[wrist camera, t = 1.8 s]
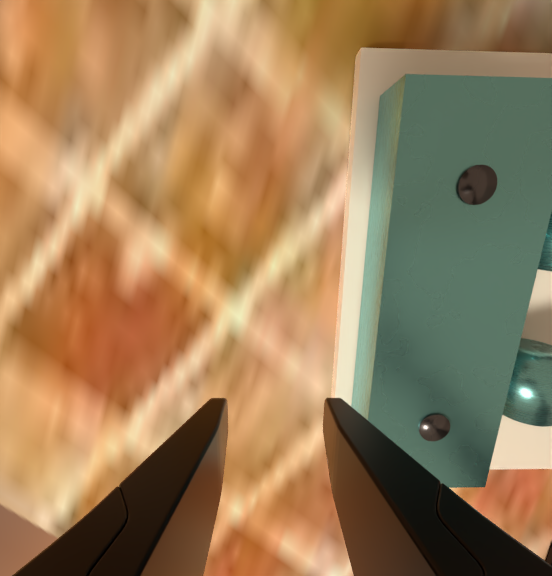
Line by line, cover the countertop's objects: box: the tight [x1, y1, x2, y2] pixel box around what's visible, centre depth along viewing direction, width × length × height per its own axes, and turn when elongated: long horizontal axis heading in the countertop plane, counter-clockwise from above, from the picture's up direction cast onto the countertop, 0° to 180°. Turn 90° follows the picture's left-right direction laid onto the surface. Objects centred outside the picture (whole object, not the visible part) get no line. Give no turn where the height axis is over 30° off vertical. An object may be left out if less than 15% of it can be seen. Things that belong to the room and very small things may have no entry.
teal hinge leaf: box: [351, 74, 552, 487], centre depth 17 cm, size 20×11×3 cm, turn 179°
